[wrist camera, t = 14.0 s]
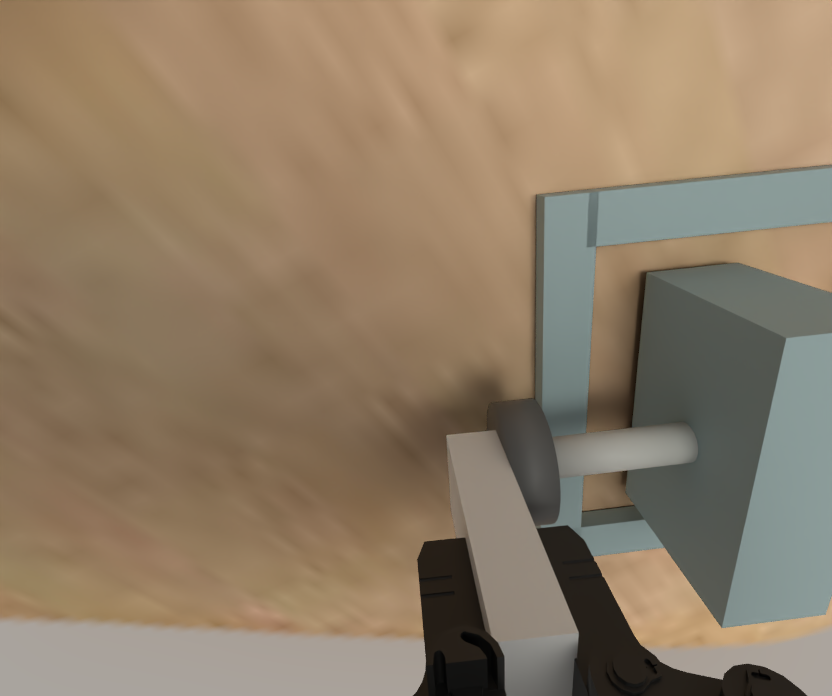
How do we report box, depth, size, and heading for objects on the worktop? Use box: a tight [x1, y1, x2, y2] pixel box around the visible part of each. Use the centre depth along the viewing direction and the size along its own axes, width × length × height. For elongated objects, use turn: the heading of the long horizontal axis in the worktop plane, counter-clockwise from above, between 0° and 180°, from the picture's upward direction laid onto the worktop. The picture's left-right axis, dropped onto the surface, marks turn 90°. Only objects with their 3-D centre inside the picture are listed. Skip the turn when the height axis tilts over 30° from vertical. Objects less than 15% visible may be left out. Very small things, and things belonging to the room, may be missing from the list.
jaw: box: [487, 263, 832, 628], centre depth 15 cm, size 9×9×6 cm
